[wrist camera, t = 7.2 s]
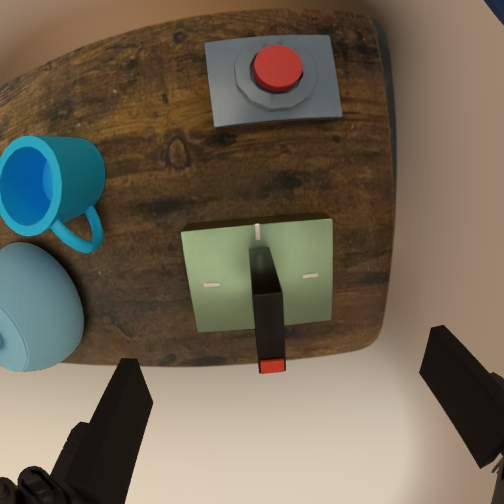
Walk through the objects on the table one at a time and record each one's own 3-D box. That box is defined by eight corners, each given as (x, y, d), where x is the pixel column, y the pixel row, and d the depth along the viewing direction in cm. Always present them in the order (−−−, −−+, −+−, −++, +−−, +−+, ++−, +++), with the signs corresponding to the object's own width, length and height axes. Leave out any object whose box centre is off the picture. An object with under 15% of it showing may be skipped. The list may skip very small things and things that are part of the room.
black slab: (248, 248, 26) (251, 297, 17) (269, 246, 26) (283, 294, 17) (253, 310, 28) (259, 376, 19) (273, 308, 28) (286, 373, 19)
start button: (295, 51, 20) (298, 44, 19) (301, 90, 21) (305, 85, 20) (250, 53, 20) (251, 46, 19) (256, 93, 21) (257, 88, 20)
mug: (32, 172, 26) (-17, 181, 18) (80, 120, 24) (32, 114, 17) (88, 259, 29) (49, 290, 21) (142, 214, 28) (108, 236, 20)
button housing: (323, 42, 23) (334, 28, 19) (335, 119, 26) (349, 114, 22) (206, 50, 23) (201, 35, 19) (216, 129, 26) (211, 125, 22)
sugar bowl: (-10, 288, 30) (-61, 327, 19) (27, 210, 27) (-43, 239, 16) (60, 365, 33) (23, 420, 22) (113, 304, 31) (66, 368, 20)
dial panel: (323, 210, 28) (333, 217, 25) (324, 306, 31) (331, 321, 28) (186, 222, 28) (179, 231, 25) (201, 318, 31) (197, 334, 28)
